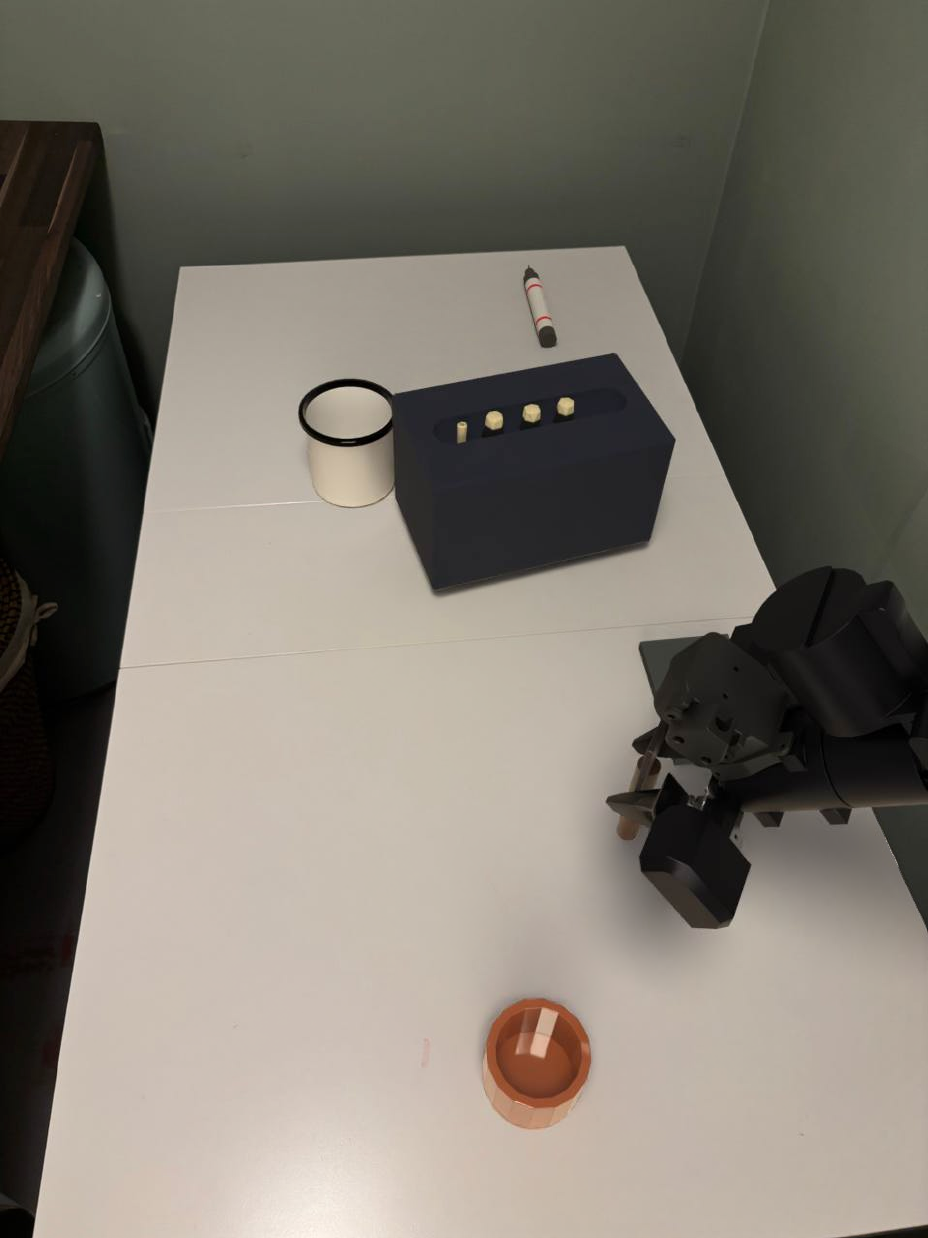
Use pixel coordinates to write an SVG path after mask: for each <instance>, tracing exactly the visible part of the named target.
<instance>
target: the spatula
mask: <svg viewBox="0 0 928 1238" xmlns="http://www.w3.org/2000/svg"><path fill="white" fill-rule="evenodd" d="M657 726H658V727H657ZM657 726H656V727H657V729H656V731H655V733H654V735H653V738H652V740H651V742H650V744H649V746H648V748H647V751H646V754H645V755H641V756H640V757H639V758H638V759H637V762H636V765H635V768H634V771H633V774H632V778H631V781H630V783H629V787H628V790H627V792H632V791H633V792H636V791H641V790H650V789H655V787H656V784H657V781H658V779H659V776H660V774H661V770H662V763H661V760H660V759H659V758H658V757H657V755H658V752H659V750H660V748H661V746H662V743H663V741H664V739H665V737H666V734H667V731H668V728H669V724H668V723H666V722H665V721H664V720H663V719H661V720H659V722H658V725H657ZM641 827H642V825H640V824H638V823H636V822H634V821H632V820H630V819H628V818H626V817H624V816H622V815H620V817H619V819H618V822H617V827H616V834H617V836H618V837H619V838H620V839H621V840H622V841H626V842H631V841H634V840H636V839H637V838H638V836H639V832H640V830H641Z"/></svg>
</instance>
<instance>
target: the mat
mask: <svg viewBox="0 0 928 1238" xmlns="http://www.w3.org/2000/svg"><path fill="white" fill-rule="evenodd" d="M721 634H722V635H723V636H724V637H726V638H727V639H728V640H730V638H731V637H730V636H729V633H721ZM703 636H704V635H699V636H698V635H697V636H687V637H675V638H664V639H654V640H643V641H640V642H639V644H638V645H639V646H638V651H639V655H640V657H641V661H642V665H643V667H644V670H645V674H646V677H647V681H648V684H649V687H650V690H651V693H652V697H653V698H654V696H655V694H656V692H657V690H658V689H659V688H660V686H661V684H662V682H663V680H664V677H665V675H666V673H667V671H668V669H669V667H670V665H669V664H670V661H671V659H672V658H673V656H674V655H676V654H677V653H679V652H680V651H682V650H683V649H685V648H686V647H688V646H689V645H691V644H692V643H694V642H695V641H697V640H698V639H700V638H701V637H703ZM659 719H660V720H661V718H660V717H659ZM660 720H659V721H660ZM671 759H672V761H673V764H674V766H682V765H690V764H693V763H692V762H690V761H689V760H688V759H678V758H671Z"/></svg>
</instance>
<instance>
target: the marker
mask: <svg viewBox="0 0 928 1238" xmlns="http://www.w3.org/2000/svg"><path fill="white" fill-rule="evenodd" d="M522 280H523V283H524V288H525V291H526V295H527V300H528V303H529V307H530V310H531V314H532V317H533V321H534V324H535V329H536V332H537V335H538V338H539V342H540V345H541V346H542V347H544V348H552V347H554V346H555V345H556V344H557V342H558V337H557V334H556V329H555V326H554V322H553V318H552V316H551V312H550V308H549V306H548V301H547V298H546V295H545V292H544V289H543V285H542V281H541V280H540V277H539V274H538V273H537V272H536V271H535V270H534V269H533V268H532V267H530V265H529V264H528V265H527V268H526V269H525V270H524V275H523V279H522Z"/></svg>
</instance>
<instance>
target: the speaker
mask: <svg viewBox="0 0 928 1238" xmlns="http://www.w3.org/2000/svg"><path fill="white" fill-rule="evenodd" d="M392 395H393V396H392V397H391V398H392V424H393V450H394V477H395V482H394V499H395V501H396V504H397V506H398V508H399V511H400V513H401V515H402V518H403V520H404V522H405V525H406V528H407V530H408V532H409V535H410V537H411V540H412V542H413V545H414V548H415V549H416V552H417V554H418V557H419V559H420V561H421V565H422V566H423V569H424V572H425V574H426V576H427V579H428V581H429V584H430V586H431V589H432V590H434V591H441V590H445V589H449V588H453V587H456V586H462V585H466V584H470V583H471V584H472V583H475V582H479V581H483V580H487V579H491V578H497V577H501V576H505V575H509V574H513V573H517V572H522V571H526V570H531V569H535V568H539V567H542V566H547V565H548V566H549V565H551V564H556V563H561V562H566V561H568V560H574V559H577V558H582V557H585V556H591V555H594V554H598V553H603V552H607V551H612V550H617V549H620V548H624V547H625V548H626V547H628V546H633V545H637V544H641V543H646V542H649V541H650V540H651V539H652V535H653V531H654V528H655V523H656V520H657V516H658V512H659V507H660V503H661V499H662V496H663V492H664V487H665V484H666V481H667V480H666V479H667V476H668V472H669V468H670V464H671V460H672V457H673V453H674V448H675V446H676V445H675V444H676V442H677V441H676V438H675V436H674V435H673V433H672V432H671V430H670V428H669V427H668V425H666V423H665V421H664V420H663V419H662V417H661V415H660V414H659V413H658V411H657V410H656V408H655V407H654V405H653V404H652V403H651V401H650V400H649V398H648V397H647V395H646V394H645V392H644V391H643V389H642V388H641V387H640V385H639V384H638V382H637V381H636V380H635V378H634V377H633V375H632V374H631V372H630V371H629V369H628V367H627V366H626V365H625V363H624V362H623V361H622V359H621V358H620V356H619V355H618V354H617V353H615V352H611V353H604V354H600V355H594V356H588V357H584V358H577V359H573V360H567V361H562V362H557V363H550V364H547V365H540V366H534V367H529V368H524V369H519V370H514V371H509V372H504V373H498V374H497V373H496V374H492V375H487V376H482V377H476V378H472V379H471V378H470V379H467V380H461V381H460V380H459V381H455V382H450V383H444V384H438V385H433V386H428V387H422V388H418V389H412V390H407V391H406V390H405V391H402V392H401V391H400V392H395V393H394V394H392Z"/></svg>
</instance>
